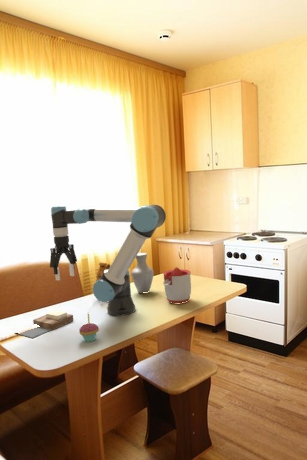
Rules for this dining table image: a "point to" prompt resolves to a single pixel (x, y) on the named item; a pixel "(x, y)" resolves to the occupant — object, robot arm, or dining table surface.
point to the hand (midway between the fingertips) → (65, 278)
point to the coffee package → (102, 269)
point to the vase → (142, 274)
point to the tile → (56, 314)
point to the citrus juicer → (177, 285)
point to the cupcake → (89, 331)
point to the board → (52, 321)
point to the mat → (35, 332)
